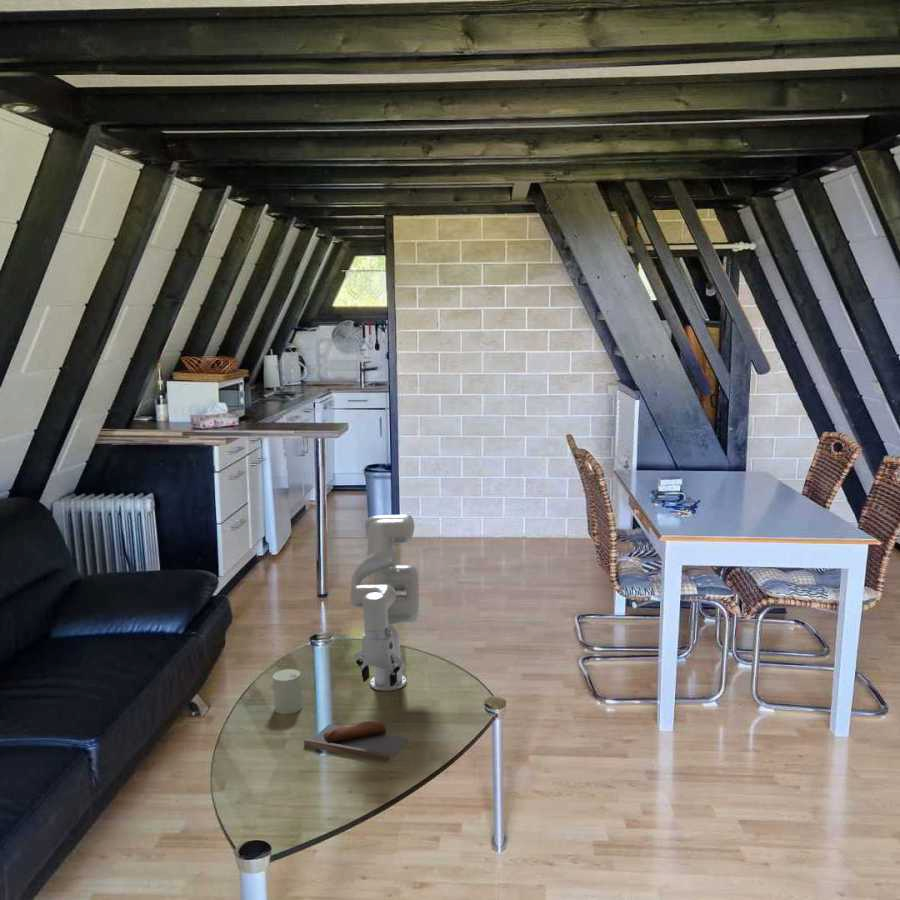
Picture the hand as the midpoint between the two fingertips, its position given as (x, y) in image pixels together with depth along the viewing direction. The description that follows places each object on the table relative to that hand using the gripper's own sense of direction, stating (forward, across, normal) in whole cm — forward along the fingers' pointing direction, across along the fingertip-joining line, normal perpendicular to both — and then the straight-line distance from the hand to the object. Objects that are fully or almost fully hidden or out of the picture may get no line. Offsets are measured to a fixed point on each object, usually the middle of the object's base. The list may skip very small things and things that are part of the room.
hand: (379, 682), depth 262 cm
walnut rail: (+10, -1, +24) cm, 26 cm away
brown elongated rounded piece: (+11, +2, +15) cm, 18 cm away
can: (+13, +32, +5) cm, 35 cm away
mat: (+11, -1, +17) cm, 20 cm away
